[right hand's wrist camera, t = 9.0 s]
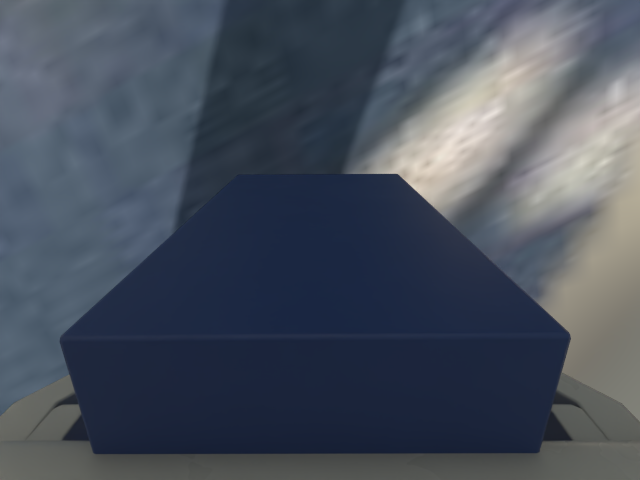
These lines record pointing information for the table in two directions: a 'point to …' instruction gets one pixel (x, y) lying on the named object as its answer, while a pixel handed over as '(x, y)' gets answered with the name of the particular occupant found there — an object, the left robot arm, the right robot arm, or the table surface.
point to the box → (316, 332)
